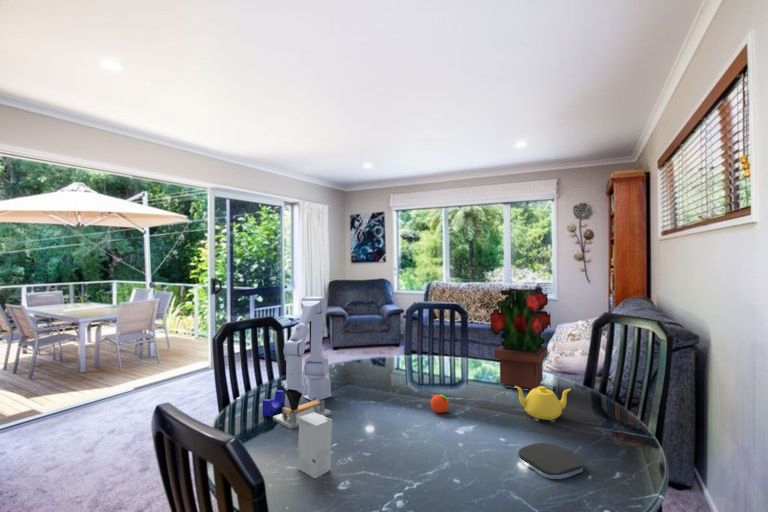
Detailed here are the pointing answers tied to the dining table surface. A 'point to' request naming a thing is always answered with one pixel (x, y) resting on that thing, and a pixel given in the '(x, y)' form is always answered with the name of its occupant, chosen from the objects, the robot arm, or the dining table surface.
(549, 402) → the teapot
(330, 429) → the skincare box
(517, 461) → the dining table surface
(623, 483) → the dining table surface
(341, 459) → the dining table surface
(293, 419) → the mount
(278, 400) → the blue notched block
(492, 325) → the potted plant
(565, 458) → the media streaming box
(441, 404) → the clementine
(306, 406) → the light brown wooden bar
